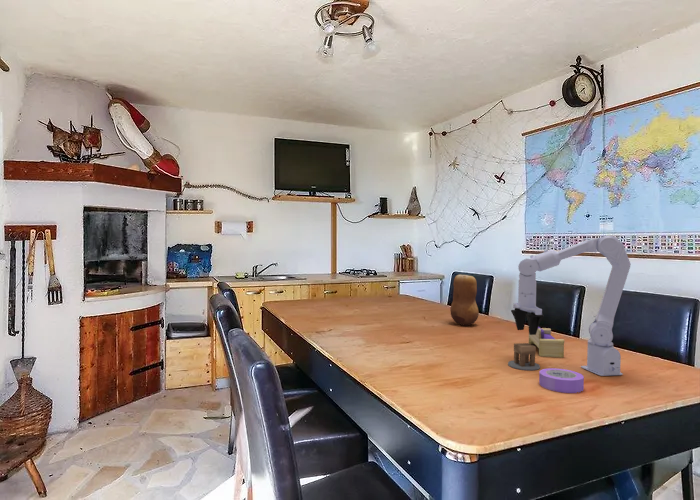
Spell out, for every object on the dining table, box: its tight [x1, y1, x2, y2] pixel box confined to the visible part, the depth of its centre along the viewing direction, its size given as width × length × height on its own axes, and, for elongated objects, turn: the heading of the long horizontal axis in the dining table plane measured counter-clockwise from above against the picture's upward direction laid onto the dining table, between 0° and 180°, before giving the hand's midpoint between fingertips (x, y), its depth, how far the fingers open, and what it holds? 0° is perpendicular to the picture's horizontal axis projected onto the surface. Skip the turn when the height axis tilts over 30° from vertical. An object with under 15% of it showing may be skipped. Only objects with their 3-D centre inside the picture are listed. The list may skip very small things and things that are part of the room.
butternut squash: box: [450, 274, 480, 327], centre depth 219 cm, size 14×13×25 cm
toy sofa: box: [528, 326, 565, 359], centre depth 170 cm, size 21×9×10 cm, turn 169°
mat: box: [507, 359, 541, 372], centre depth 149 cm, size 10×10×1 cm
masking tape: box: [538, 367, 585, 394], centre depth 129 cm, size 12×12×4 cm
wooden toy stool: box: [513, 342, 537, 367], centre depth 148 cm, size 5×5×6 cm
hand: (526, 332), depth 153 cm, fingers open, 7 cm apart
